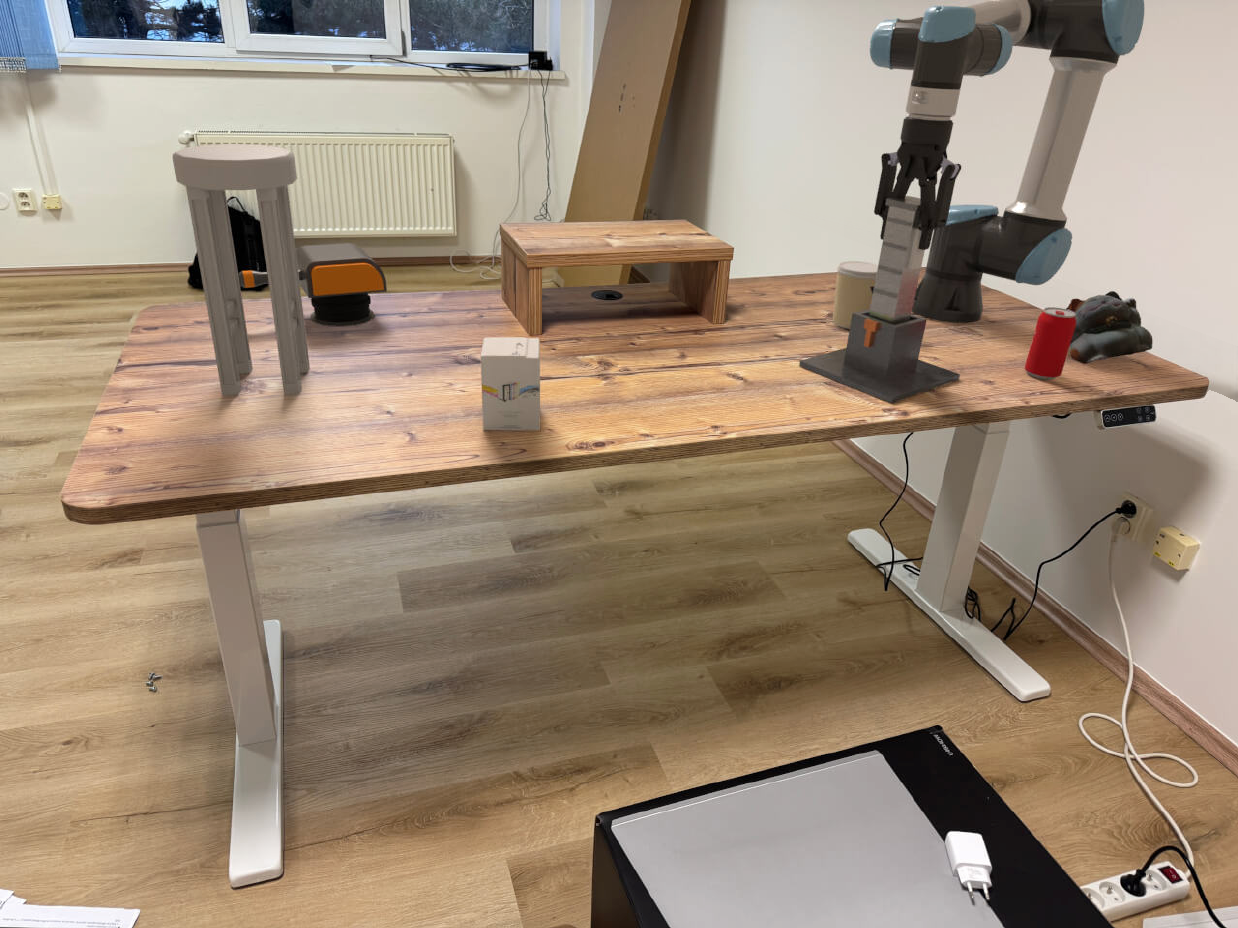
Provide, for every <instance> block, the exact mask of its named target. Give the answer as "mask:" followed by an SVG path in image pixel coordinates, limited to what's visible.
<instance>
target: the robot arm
mask: <svg viewBox="0 0 1238 928" xmlns="http://www.w3.org/2000/svg"><path fill="white" fill-rule="evenodd" d="M1144 19H1145V0H988V1H984V2H980V3H975V4H972V5H967V6H957V5H956V6H955V5H954V6H953V5H952V6H951V5H932V6H929V7H928V8H927V9H926V10H925V12H924V14H923V16H921V17H920V16H919V17H916V18H912V19H901V18H895V19H885V20H882V21H881V22H880V23H878V24H877V26H876V27H875V29H874V31H873V32H872V35H871V37H870V45H869V54H870V56H869V57H870V59H871V61H872V62H873V64H874V65H875V66H877V67H879V68H885V69H889V70H905V71H913V72H912V76H911V77H912V78H911V81H910V84H909V85H910V87H909V91H908V96H907V101H906V107H905V112H906V113H907V114H908V116H905V117H904V118H903V121H902V128H901V132H900V140H901V142H900V146H899V147H898V149H897V150H896V151H895V152H886V153H885V152H884V153H882V154H881V158H880V160H881V173H880V179H879V184H878V188H877V194H876V199H875V204H874V210H873V212H874V215H876V216H879V217H880V218H882V225H881V231H880V240H881V241H883V238H884V232H885V227H886V222H887V216H888V211H889V206H888V205H885V203H886V199H887V198H896V199H897V198H905V197H906V196H907V194H908V191H909V188H910V187H911V185H912V183H913V182H914V181H915V180H918V181H917V182H918V187H919V188H920V189H919V191H920V192H919V193H920V194H919V195H920V204H924V208H923V211H921V227H918V229H916V231H915V236H914V241H913V246H912V251H911V255H910V260H909V265H908V269H917V268H922V266H923V260H924V257H925V256H924V255H925V251H926V250H929V252H928V257H927V262H926V267H925V272H924V275H923V277H922V279H921V280H920V282H919V283H918V284H917V289H916V293H915V298H914V303H913V308H912V312H911V313H914V315H916V316H918V317H921V318H924V319H929V320H934V321H937V322H944V323H953V324H968V323H969V324H970V323H971V324H972V323H974V322H978V321H980V320H981V319H982V315H983V311H984V305H983V293H982V279H983V275H984V274H986V275H988V276H989V275H990V276H993V277H998V278H1001V279H1005V280H1010V281H1014V282H1016V283H1017V284H1025V285H1032V286H1040V285H1043V284H1046V283H1047V282H1049V281H1050V280H1051V279H1053V277H1055V275H1057V273H1058V272H1059V271H1060V269H1061V268H1062V266H1063V265H1064V263H1065V262H1066V259H1067V257H1068V255H1069V252H1070V250H1071V247H1072V239H1073V233H1072V232H1071V230H1069V229H1068V228H1066V224H1067V221H1068V217H1067V216H1066V214H1065V212H1064V210H1063V206H1064V203H1065V200H1066V196H1067V193H1068V191H1069V187H1070V184H1071V181H1072V177H1073V174H1074V172H1075V169H1076V165H1077V162H1078V159H1079V156H1080V152H1081V150H1082V147H1083V144H1084V141H1085V137H1086V134H1087V130H1088V127H1089V125H1090V121H1091V119H1092V115H1093V112H1094V109H1095V105H1096V102H1097V99H1098V96H1099V92H1100V90H1101V88H1102V87H1101V86H1102V84H1103V81H1104V77H1105V76H1106V75H1107V74H1108V73H1109V72H1110V71H1112V70H1113V69H1115V68H1116V67H1118V66H1117V65H1118V62H1119V60H1120V56H1121V57H1122V56H1125V55H1128V54H1130V53H1131V52H1132V51H1133V50H1134V49H1135V47H1136V45H1137V43H1138V41H1139V40H1140V37H1141V34H1142V29H1143V25H1144ZM1013 47H1022V48H1031V49H1037V50H1047V51H1050V54H1049V58H1048V61H1049V63H1050V64H1051V66H1052V67H1053V75H1052V77H1051V81H1050V83H1049V87H1048V91H1047V94H1046V98H1045V99H1044V100H1045V101H1044V104H1043V107H1042V111H1041V115H1040V118H1039V121H1038V125H1037V128H1036V132H1035V133H1034V134H1035V135H1034V138H1033V141H1032V145H1031V148H1030V151H1029V156H1028V158H1027V162H1026V165H1025V169H1024V172H1023V174H1022V179H1021V182H1020V186H1019V188H1018V192H1017V195H1016V199H1015V201H1013V202H1012V203H1010V204H1009V205H1008V206H1007V207H1004V210H1003V215H1002V216H1001V215H999V214H1000V210H999V208H998V206H996V205H989V204H955V205H952V198H953V193H954V188H955V185H956V180H957V178H958V176H959V174H960V172H961V170H962V165H961V164H960V163H954V162H952V161H951V160H949V159H948V154H947V153H948V152H947V148H948V146H949V144H950V141H951V136H952V132H953V131H952V130H953V127H954V122H953V120H952V119H951V118H952V117H954V116H956V113H957V108H958V104H959V97H960V94H961V93H960V92H961V87H962V83H963V78H964V76H967V77H968V76H969V77H972V76H973V77H979V78H982V77H985V76H991V75H994V74H996V73H997V72H1000V71H1001V70H1002V69H1003V68H1004V67H1005V66H1006V65H1007V63H1008V61H1010V58H1011V55H1012V52H1013ZM898 164H899V166H900V169H899V171H898ZM939 170H940V174H941V177H940V180H939V184H938V173H939ZM897 171H898V173H897ZM895 181H896V182H895ZM937 184H938V188H937V192H936V186H937Z"/></svg>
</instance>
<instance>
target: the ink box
mask: <svg viewBox="0 0 1238 928" xmlns="http://www.w3.org/2000/svg"><path fill="white" fill-rule="evenodd" d="M482 342H483V343H482V346H481V347H482V348H481V351H480V376H481V382H480V383H481V405H482V407H481V408H482V410H481V411H482V430H483V431H540V428H541V427H540V423H541V422H540V421H541V420H540V417H541V416H540V415H541V414H540V413H541V359H540V357H541V356H540V354H541V353H540V349H541V348H540V338H539V337H532V338H531V337H528V338H527V337H524V336H523V337H520V336H510V337H509V336H508V337H507V336H506V337H484V338H483V341H482Z"/></svg>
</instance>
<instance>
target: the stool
mask: <svg viewBox="0 0 1238 928" xmlns="http://www.w3.org/2000/svg"><path fill="white" fill-rule="evenodd" d="M172 162H173V168H174V169H173V170H174V173H175V178H176V182H177V183H178V184H180V185H182V186H183V187H185V188H186V195H187V200H188V206H189V213H190V217H191V218H190V219H191V223H192V224H191V225H192V228H193V229H192V230H193V235H194V243H195V247H196V252H197V258H198V259H197V260H198V264H199V269H200V275H201V281H202V282H201V283H202V287H203V293H204V297H205V299H204V300H205V305H206V311H207V316H208V321H209V322H208V323H209V327H210V332H211V338H212V339H211V340H212V345H213V349H214V357H215V362H216V363H215V364H216V366H217V372H218V378H219V384H220V389H221V396H222V397H224V396H225V397H228V396H229V397H230V396H231V397H232V396H239V395H240V393H241V391H242V386H241V380H240V375H241V374H242V375H243V374H245V375H246V374H251V373H252V372H253V369H254V368H253V363H252V356H251V355H252V354H251V350H250V344H249V343H250V342H249V337H248V329H247V323H246V317H245V311H244V310H245V309H244V303H243V297H242V296H243V295H242V290H241V286H240V283H239V277H238V274H239V271H238V265H237V257H236V252H235V251H236V250H235V245H234V238H233V234H232V233H233V232H232V227H231V219H230V214H229V208H228V206H229V205H228V200H227V195H226V191H251V190H255V194H256V200H257V202H256V203H257V208H258V209H257V210H258V215H259V222H260V230H261V236H262V237H261V238H262V244H263V245H262V246H263V251H264V259H265V264H266V272H267V274H268V281H269V283H268V287H269V289H268V290H269V295H270V301H271V302H270V303H271V311H272V317H273V324H274V332H275V338H276V345H277V352H278V360H279V366H280V375H281V381H282V389H283V395H301V392H302V389H303V388H302V381H301V380H302V379H301V374H303V373H304V374H305V373H309V371H310V369H311V366H310V358H309V349H308V342H307V333H306V325H305V317H304V309H303V301H302V292H301V285H300V283H299V274H298V266H297V258H296V250H297V249H296V243H295V236H294V234H295V233H294V227H293V226H294V225H293V219H292V211H291V210H292V209H291V201H290V193H289V187H288V185H292V184H294V183H295V182H296V181H297V179H298V177H297V176H298V174H297V166H296V159H295V153H294V152H292V150H288V149H286V148H283V147H279V146H272V145H271V146H270V145H264V144H250V143H249V144H247V143H246V144H245V143H244V144H242V143H222V144H221V143H220V144H204V145H197V146H189V147H183V148H180V149H179V150H176V151H175V152H173V154H172ZM300 373H301V374H300ZM239 374H240V375H239Z"/></svg>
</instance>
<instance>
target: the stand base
mask: <svg viewBox="0 0 1238 928" xmlns="http://www.w3.org/2000/svg"><path fill="white" fill-rule="evenodd" d="M869 312H870V309H868V310H864V311H860V312H856V313H853V314H852V320H851V325H850V329H849V331H848V338H847V341H846V342H847V343H846V347H845V348H841V349H837V350H834V351H830V352H826V353H823V354H819V355H816V356H813V357H808V358H805V359H801V360H799V365H798V366H799V367H801V368H804V369H806V370H807V371H811V372H813V373H816V374H818V375H821V376H823V377H826V378H828V379H830V380H833V381H836V382H838V383H841V384H843V385H845V386H847V387H850V388H852V389H855V390H858V391H859V392H863V393H865V394H867V395H870V396H873V397H875V398H877V399H880V400H882V401H885V402H886V403H890V404H893V403H897V402H899V401H902V400H905V399H908V398H911V397H913V396H916V395H919V394H922V393H925V392H928V391H930V390H934V389H936V388H939V387H941V386H944V385H947V384H950V383H953V382H956V381H959V380H960V376H961V374H959V373H957V372H955V371H951V370H949V369H946V368H943V367H940V366H938V365H936V364H935V365H934V364H932V363H930V362H926V361H924V360H920V359H919V356H920V352H921V349H922V343H923V338H924V334H925V330H926V329H925V328H926V325H927V321H928V320H927V319H928V318H925V317H922V316H919V315H916V314H912V313H911V317H910V321H908V322H904V323H900V324H897V325H892V324H889V323H886V322H883V321H880V320H877V319H874V318H871V317H869Z"/></svg>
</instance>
